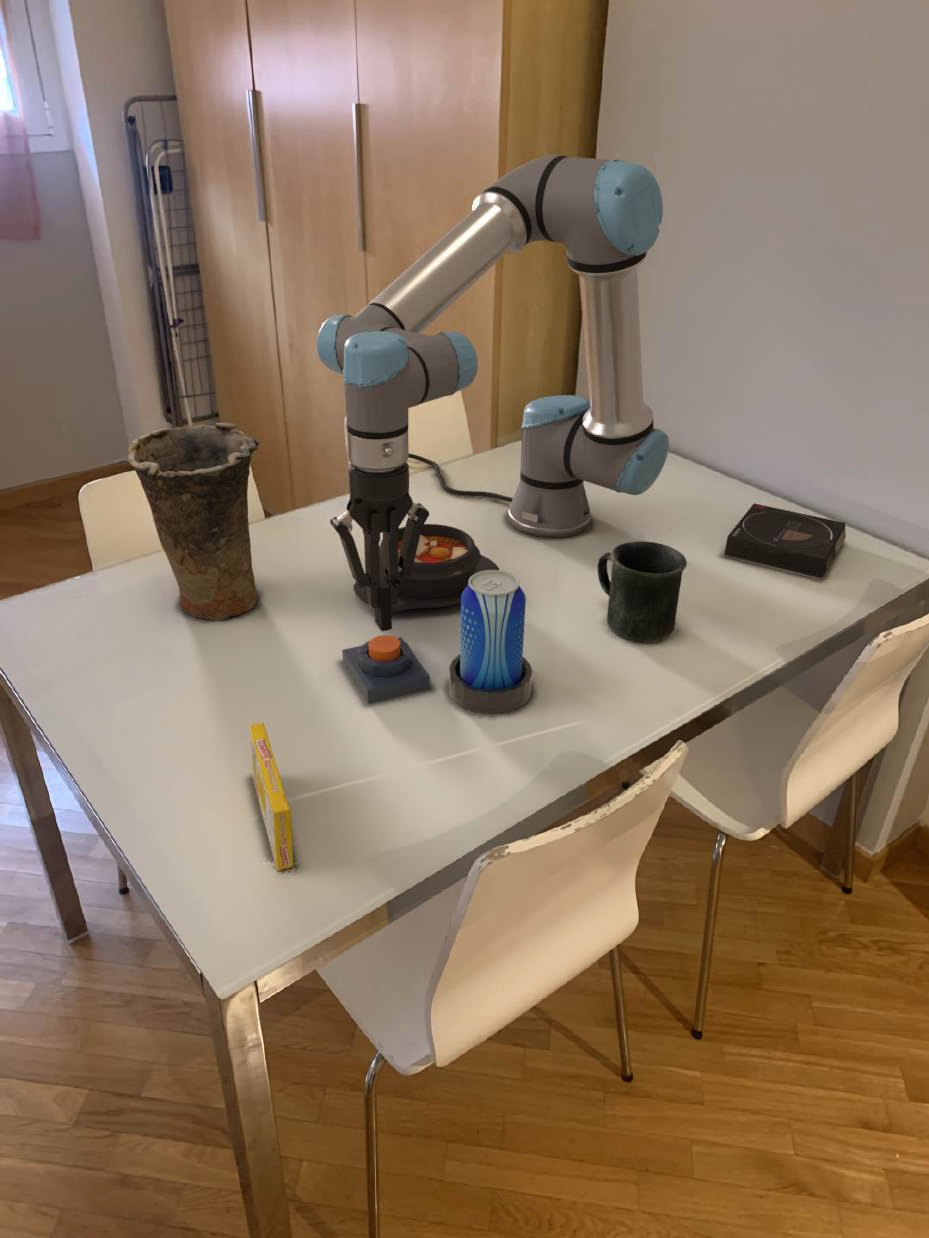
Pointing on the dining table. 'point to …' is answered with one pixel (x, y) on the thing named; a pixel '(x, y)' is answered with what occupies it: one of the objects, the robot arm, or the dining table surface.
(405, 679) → the button base
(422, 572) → the casserole
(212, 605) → the vase
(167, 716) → the dining table surface
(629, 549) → the mug
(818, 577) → the portable cd player
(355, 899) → the dining table surface
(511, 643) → the beer can
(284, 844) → the candy box
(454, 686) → the dock
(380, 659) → the button
